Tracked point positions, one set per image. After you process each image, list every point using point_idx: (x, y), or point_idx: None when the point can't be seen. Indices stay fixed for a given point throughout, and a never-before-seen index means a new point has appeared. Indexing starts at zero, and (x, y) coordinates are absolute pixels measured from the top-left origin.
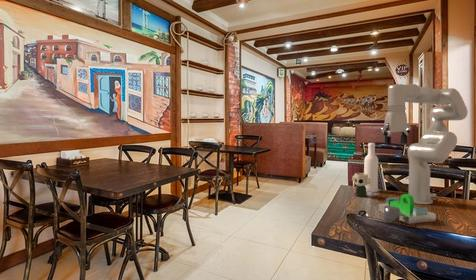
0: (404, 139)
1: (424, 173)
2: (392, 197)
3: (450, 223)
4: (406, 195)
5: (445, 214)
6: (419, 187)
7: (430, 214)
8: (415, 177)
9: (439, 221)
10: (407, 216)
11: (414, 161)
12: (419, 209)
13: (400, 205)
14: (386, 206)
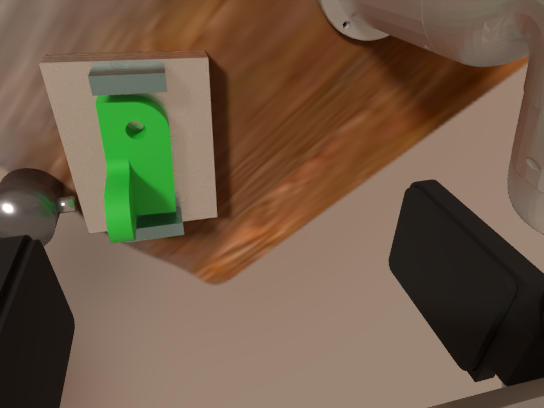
0: (428, 295)
1: (452, 59)
2: (132, 77)
3: (239, 225)
4: (109, 234)
5: (304, 156)
6: (380, 24)
7: (194, 218)
8: (405, 13)
9: (221, 209)
10: (87, 227)
11: (497, 19)
12: (143, 237)
13: (107, 171)
14: (1, 205)
